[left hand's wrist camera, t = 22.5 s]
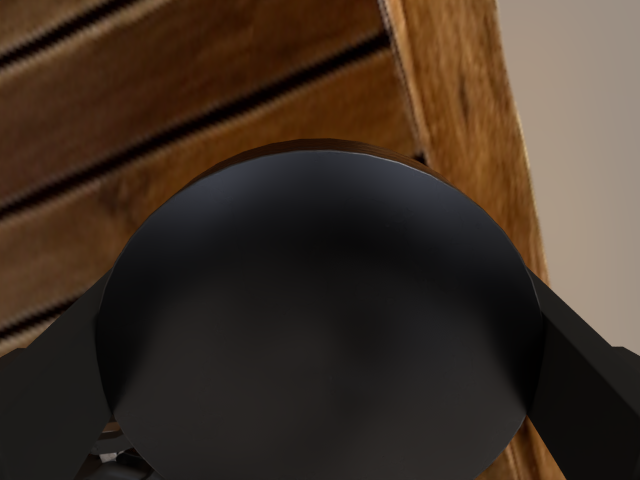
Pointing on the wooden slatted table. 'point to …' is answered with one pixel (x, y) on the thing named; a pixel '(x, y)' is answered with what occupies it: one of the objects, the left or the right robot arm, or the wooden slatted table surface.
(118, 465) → the right robot arm
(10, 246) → the wooden slatted table surface
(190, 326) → the lid
